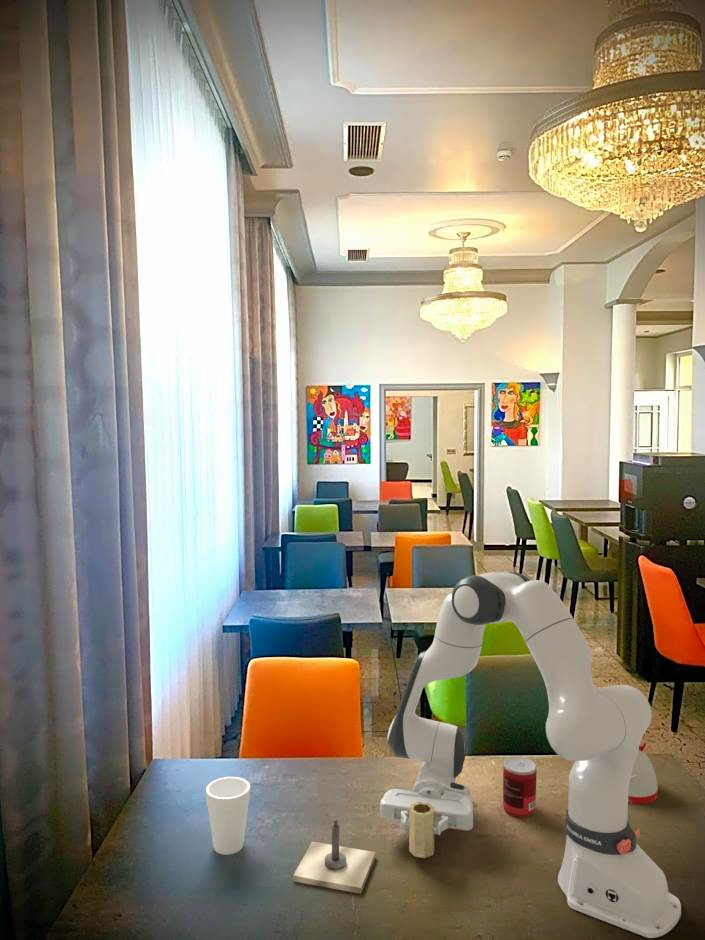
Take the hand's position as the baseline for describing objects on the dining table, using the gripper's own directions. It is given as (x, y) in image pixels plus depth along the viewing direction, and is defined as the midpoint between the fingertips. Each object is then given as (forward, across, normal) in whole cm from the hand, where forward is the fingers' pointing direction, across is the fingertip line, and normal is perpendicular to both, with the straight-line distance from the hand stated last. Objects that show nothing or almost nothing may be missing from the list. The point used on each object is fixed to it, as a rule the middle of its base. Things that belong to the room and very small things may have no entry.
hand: (421, 829), depth 146 cm
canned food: (-27, +19, +8) cm, 34 cm away
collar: (-1, 0, +5) cm, 5 cm away
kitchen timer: (-44, +45, +8) cm, 64 cm away
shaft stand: (+7, -17, +7) cm, 19 cm away
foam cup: (+5, -41, +7) cm, 42 cm away
